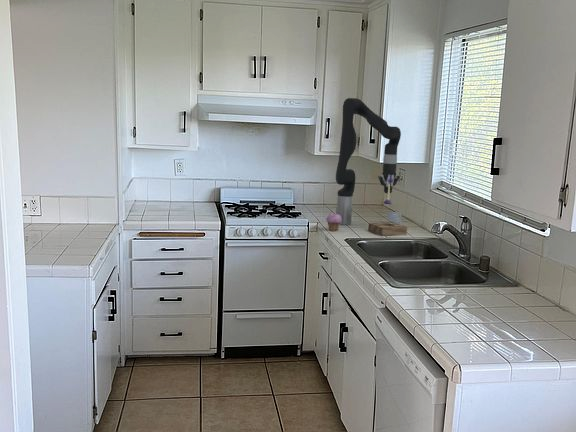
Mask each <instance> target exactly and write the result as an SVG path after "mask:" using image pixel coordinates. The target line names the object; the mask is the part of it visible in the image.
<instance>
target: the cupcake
mask: <svg viewBox="0 0 576 432" xmlns="http://www.w3.org/2000/svg"><path fill="white" fill-rule="evenodd" d="M325 221H326V222H327V224H328V230H329V231H331V232H337V231H338V230H339V227H340V225H341V224H340V223H341V221H342V218H341V216H340V215H339V214H336V212H335V213H329V214H328V215H327V216H326V220H325Z"/></svg>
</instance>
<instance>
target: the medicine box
mask: <svg viewBox="0 0 576 432" xmlns="http://www.w3.org/2000/svg"><path fill="white" fill-rule="evenodd" d="M402 213H403V212H396V211H388V212H387V222H394V223H397V224H400V225H402V216H403V215H402Z"/></svg>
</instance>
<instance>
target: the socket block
mask: <svg viewBox="0 0 576 432" xmlns="http://www.w3.org/2000/svg"><path fill="white" fill-rule="evenodd" d="M368 231H369V232H371V233H374V234H376V235H378V236H381V237H392V236H405V235H407V231H408V227H407V226H405V225H402V224H401V225H400V224H397V223H394V222H388V221H382V222H381V221H380V222H368Z"/></svg>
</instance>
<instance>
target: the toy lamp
mask: <svg viewBox="0 0 576 432" xmlns="http://www.w3.org/2000/svg"><path fill="white" fill-rule="evenodd" d="M385 181H387V180H385ZM388 182H389V183H388V193H386V200H384V202H383V204H384V205H392V201H391V200H390V194H391V193H389V192H390V182H393V179H392V176H391V174H390V178H389V180H388Z"/></svg>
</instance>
